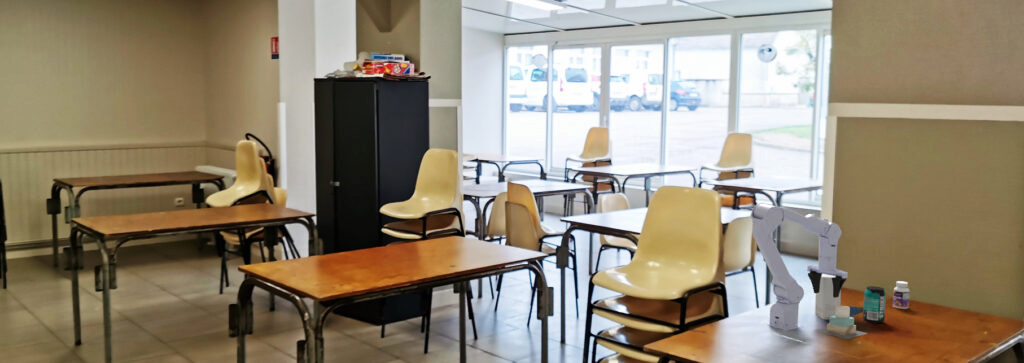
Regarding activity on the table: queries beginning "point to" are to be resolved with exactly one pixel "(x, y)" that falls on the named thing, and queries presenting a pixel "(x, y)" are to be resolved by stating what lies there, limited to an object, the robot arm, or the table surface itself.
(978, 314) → the table surface
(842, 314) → the white short cylinder
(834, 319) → the top block
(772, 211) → the robot arm
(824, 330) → the mat
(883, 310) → the beverage can
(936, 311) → the table surface
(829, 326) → the bottom block
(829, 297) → the skincare box
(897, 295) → the pill bottle
